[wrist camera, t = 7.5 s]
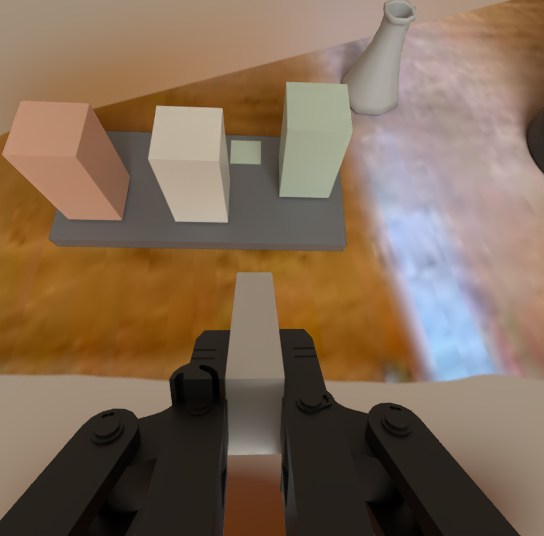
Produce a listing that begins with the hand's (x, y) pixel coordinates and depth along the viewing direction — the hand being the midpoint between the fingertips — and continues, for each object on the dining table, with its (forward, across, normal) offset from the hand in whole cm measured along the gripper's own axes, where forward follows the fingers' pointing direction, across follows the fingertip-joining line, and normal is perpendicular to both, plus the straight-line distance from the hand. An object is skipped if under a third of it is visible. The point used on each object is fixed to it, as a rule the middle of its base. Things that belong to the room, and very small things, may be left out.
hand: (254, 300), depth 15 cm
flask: (+34, +14, +11) cm, 38 cm away
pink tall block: (+21, -15, 0) cm, 26 cm away
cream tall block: (+21, -5, 0) cm, 21 cm away
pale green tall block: (+23, +5, +2) cm, 23 cm away
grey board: (+23, -5, 0) cm, 24 cm away
